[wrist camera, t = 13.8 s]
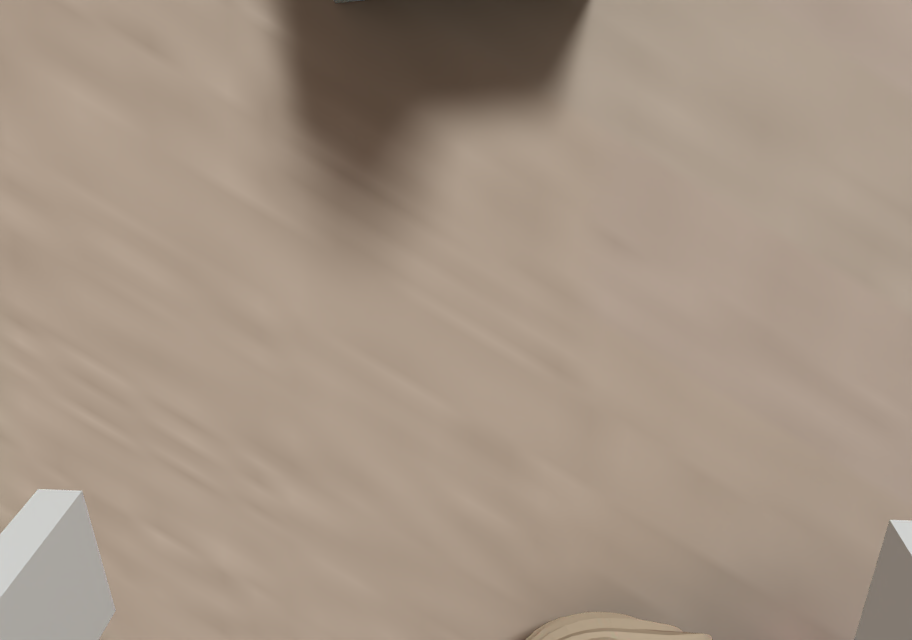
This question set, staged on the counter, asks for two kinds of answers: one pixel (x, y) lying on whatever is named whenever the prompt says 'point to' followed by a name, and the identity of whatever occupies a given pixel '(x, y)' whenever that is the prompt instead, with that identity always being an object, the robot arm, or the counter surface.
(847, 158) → the counter surface
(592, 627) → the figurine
